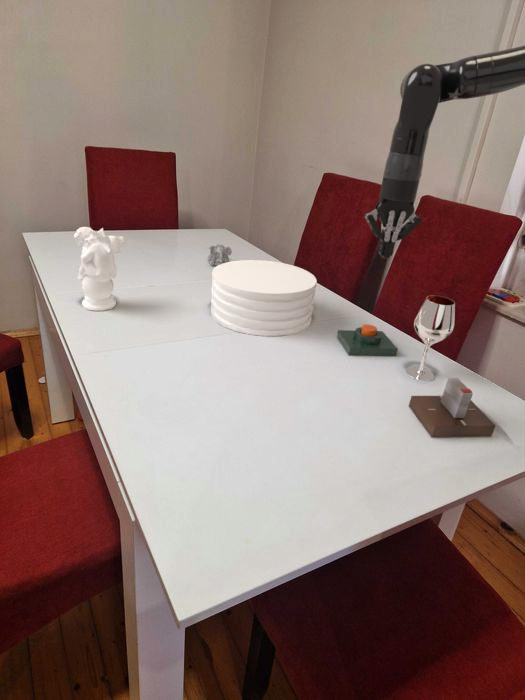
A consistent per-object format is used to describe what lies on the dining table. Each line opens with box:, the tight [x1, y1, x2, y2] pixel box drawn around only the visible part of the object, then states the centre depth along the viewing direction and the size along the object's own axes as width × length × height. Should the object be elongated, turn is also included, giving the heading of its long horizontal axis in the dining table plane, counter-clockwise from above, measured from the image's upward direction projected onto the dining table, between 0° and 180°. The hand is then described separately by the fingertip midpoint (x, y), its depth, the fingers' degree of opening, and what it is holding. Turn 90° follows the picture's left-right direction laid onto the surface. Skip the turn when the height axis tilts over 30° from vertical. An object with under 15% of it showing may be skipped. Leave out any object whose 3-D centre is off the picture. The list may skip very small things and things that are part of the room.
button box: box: [336, 326, 398, 357], centre depth 112 cm, size 12×10×4 cm
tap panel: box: [408, 395, 497, 438], centre depth 87 cm, size 12×10×3 cm
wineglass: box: [405, 294, 456, 382], centre depth 99 cm, size 8×8×18 cm
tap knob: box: [441, 377, 474, 418], centre depth 85 cm, size 6×2×6 cm, turn 7°
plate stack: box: [210, 259, 318, 337], centre depth 124 cm, size 28×28×12 cm
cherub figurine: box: [73, 226, 126, 312], centre depth 118 cm, size 12×12×22 cm
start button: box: [361, 323, 378, 336], centre depth 111 cm, size 4×4×2 cm
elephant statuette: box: [207, 244, 233, 266], centre depth 162 cm, size 9×12×8 cm
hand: (384, 257), depth 103 cm, fingers closed
